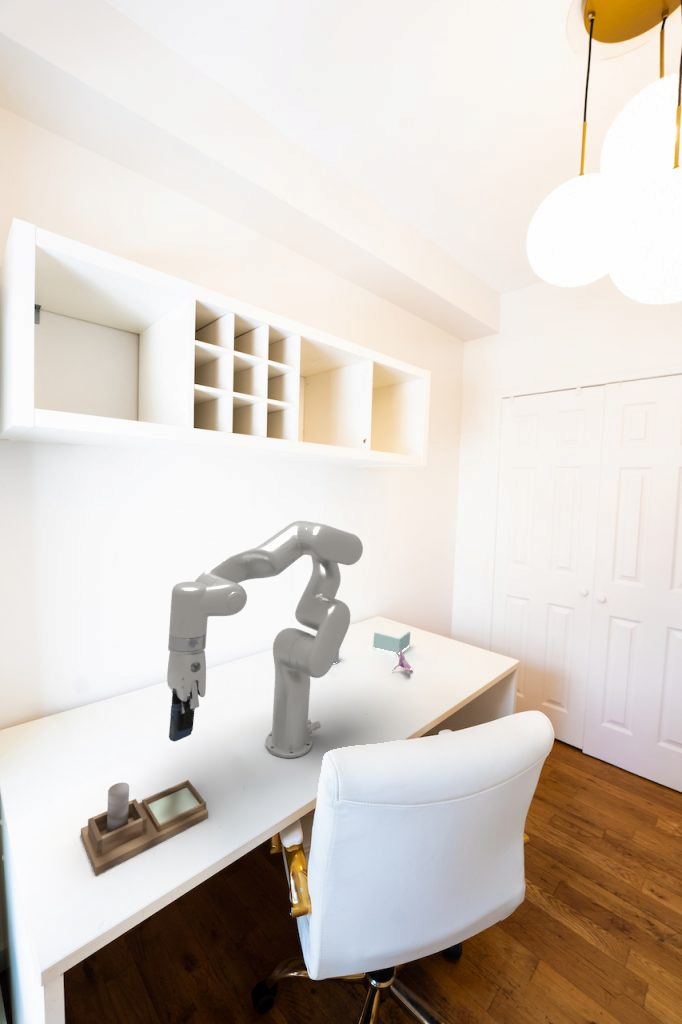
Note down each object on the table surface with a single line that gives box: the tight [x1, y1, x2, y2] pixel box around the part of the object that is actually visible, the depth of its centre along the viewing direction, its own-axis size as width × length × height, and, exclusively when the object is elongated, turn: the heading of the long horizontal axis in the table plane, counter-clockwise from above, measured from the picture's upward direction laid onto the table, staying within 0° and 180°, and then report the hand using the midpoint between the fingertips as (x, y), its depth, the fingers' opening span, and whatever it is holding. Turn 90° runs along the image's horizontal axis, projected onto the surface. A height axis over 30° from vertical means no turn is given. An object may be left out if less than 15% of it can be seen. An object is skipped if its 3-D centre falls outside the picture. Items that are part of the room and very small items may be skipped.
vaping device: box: [168, 688, 195, 742], centre depth 93 cm, size 3×5×12 cm, turn 142°
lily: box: [393, 646, 412, 673], centre depth 166 cm, size 12×12×10 cm
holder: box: [80, 779, 209, 876], centre depth 87 cm, size 21×11×10 cm, turn 133°
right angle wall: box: [372, 631, 411, 653], centre depth 191 cm, size 12×12×8 cm
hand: (181, 724), depth 93 cm, fingers closed on vaping device, 2 cm apart
